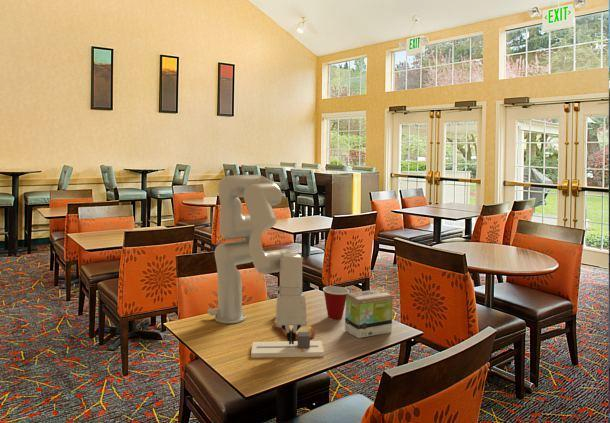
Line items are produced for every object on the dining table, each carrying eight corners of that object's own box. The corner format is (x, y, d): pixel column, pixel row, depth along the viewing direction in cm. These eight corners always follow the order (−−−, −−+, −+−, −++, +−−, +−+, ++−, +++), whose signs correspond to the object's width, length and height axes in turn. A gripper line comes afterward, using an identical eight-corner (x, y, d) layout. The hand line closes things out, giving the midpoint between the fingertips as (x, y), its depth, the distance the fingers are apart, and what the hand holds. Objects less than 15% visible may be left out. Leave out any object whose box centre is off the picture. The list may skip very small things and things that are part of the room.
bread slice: (274, 323, 200) (274, 314, 199) (319, 326, 196) (319, 317, 196) (263, 340, 182) (262, 330, 182) (311, 343, 179) (311, 333, 178)
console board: (251, 357, 165) (251, 352, 165) (253, 345, 175) (253, 341, 175) (323, 356, 166) (323, 351, 166) (321, 344, 176) (321, 340, 176)
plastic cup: (350, 322, 200) (350, 292, 198) (322, 321, 200) (322, 292, 199) (348, 313, 211) (348, 285, 209) (322, 313, 211) (322, 285, 209)
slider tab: (298, 347, 169) (298, 336, 168) (297, 343, 173) (297, 332, 172) (309, 347, 169) (309, 336, 168) (309, 343, 173) (309, 331, 172)
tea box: (359, 339, 181) (359, 299, 180) (344, 330, 190) (344, 293, 188) (392, 332, 188) (393, 294, 186) (376, 324, 197) (377, 287, 195)
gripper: (268, 293, 164) (268, 347, 167) (313, 293, 165) (313, 346, 167) (269, 287, 172) (269, 339, 174) (312, 287, 172) (312, 338, 175)
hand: (291, 342), depth 171 cm, fingers closed
